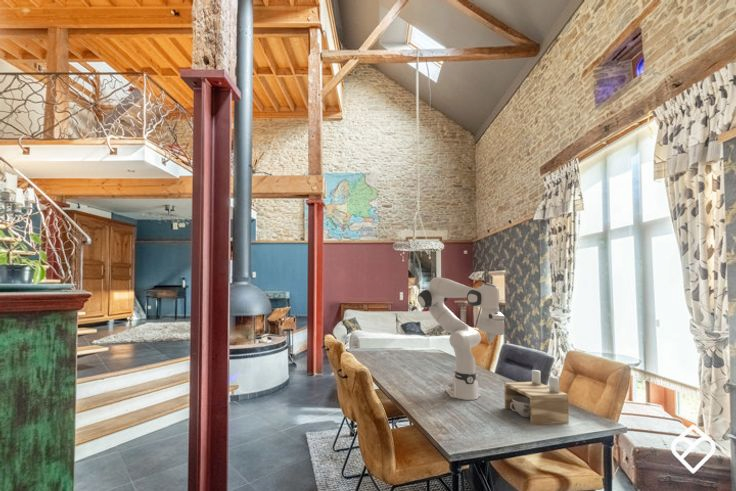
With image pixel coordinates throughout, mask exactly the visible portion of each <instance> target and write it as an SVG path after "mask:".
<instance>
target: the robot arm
mask: <svg viewBox="0 0 736 491" xmlns="http://www.w3.org/2000/svg"><path fill="white" fill-rule="evenodd" d="M499 290H500V289H499V287H498V285H496V284H494V283H490V282H484V283H482V284H481V285H480V286H479V287H472V286H467V285H465V284H462V283H459V282H457V281H455V280H452V279H450V278H446V277H434V278H433V277H432V279H431V280H430V281H429V286H428V287H427V288H426V289H424V290H422V291H420V292H419V293H418V294H417V302H418V304H419V306H421V307H422V308H425V309H427V308H428V310H429V313H430V314H431V316H432V317H433V319H434V320H435V321H436V322H437V324H438V325H439V326H440V327H441V328H442V329H443V330H444V331H445V332H446V333H449V334H450V336H449V340H448V341H449V344H450V346H451V347H452V349H453V351H454V354H455V371H454V377H453V378H452V379H451V380H450V381H449V383H448V388H447V387H446V388H445V391H446V393H447V394H448V395H449V397H450V398H454V399H459V400H465V401H472V400H473V401H474V400H477V399H479V397H481V393H479V384H478V383H479V382H478V380H477V373H476V358H475V357H474V356H473V353H472V348H475V347H476V346H478V345H479V344H480V343H481V340H482V335H481V334H480V332H479V331H481V332H484V333H485V334H486V335H485V336H486V338H487V342H489V343H494V340H495V337H496V336H503V335H504V334H505V319H506V316H505V315H504V314H503V313H502V312H501V311H500V306H499V303H500V291H499ZM448 298H449V299H456V298H457V299H459V298H466V302H467V304H468V305H469V306H471V307H473V308H481V314H480V315H479V317H478V321H477V322H478V324H477V328H478V330H479V331H478V330H477V329H475V328H472V327H471V326H470V325H468V324H466V322H463V320H461V319H460V318H459V317H457V315H455V313H454V312H452V310H450V309H449V308H448V306H446V305H445V302H447V301H448Z"/></svg>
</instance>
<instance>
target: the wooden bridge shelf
mask: <svg viewBox="0 0 736 491" xmlns="http://www.w3.org/2000/svg"><path fill="white" fill-rule="evenodd" d="M503 390H504V409H506V410H511V408H510V404H511V402H513V400H512V398H513V397H517V396H523V397H528V398H530V417H529V418H530V424H531V425H532V426H533V425H546V424H547V425H548V424H550V425H552V424H553V425H554V424H566V423H569V422H570V421H569V418H570V416H569V415H570V413H569V394H568V393H565V391H561V390H559V393H553V392H550V391H549V385H547V384H544V383H542V382H541V385H534V384H532V381H513V382H512V381H510V382H509V381H508V382H504V388H503ZM512 409H514V410H516V409H515V407H514V405H512Z"/></svg>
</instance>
